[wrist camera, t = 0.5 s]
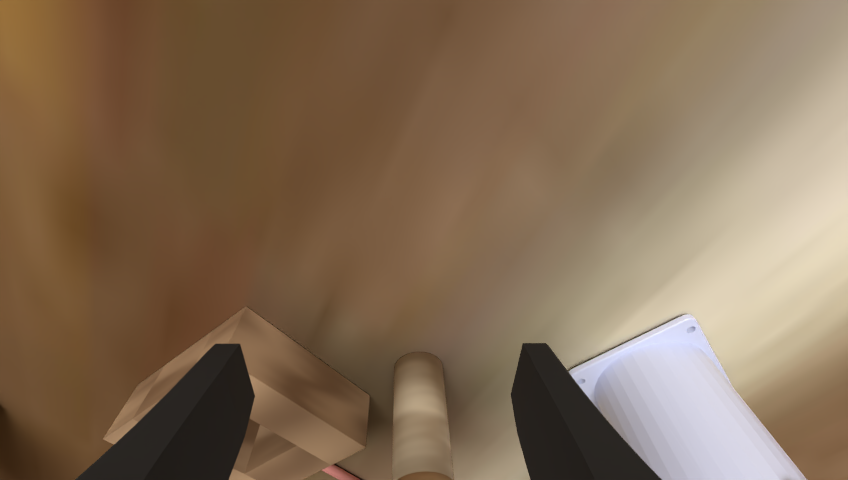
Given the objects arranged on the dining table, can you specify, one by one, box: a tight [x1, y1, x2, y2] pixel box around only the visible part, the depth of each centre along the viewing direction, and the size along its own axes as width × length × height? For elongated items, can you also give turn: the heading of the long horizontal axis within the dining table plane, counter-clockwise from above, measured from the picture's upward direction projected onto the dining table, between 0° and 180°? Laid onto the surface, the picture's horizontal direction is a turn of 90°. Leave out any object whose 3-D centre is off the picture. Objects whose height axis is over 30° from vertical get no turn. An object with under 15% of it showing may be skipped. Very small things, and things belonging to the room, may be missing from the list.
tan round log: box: [392, 352, 454, 480], centre depth 22 cm, size 3×3×8 cm
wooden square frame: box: [103, 307, 370, 480], centre depth 24 cm, size 10×10×4 cm
